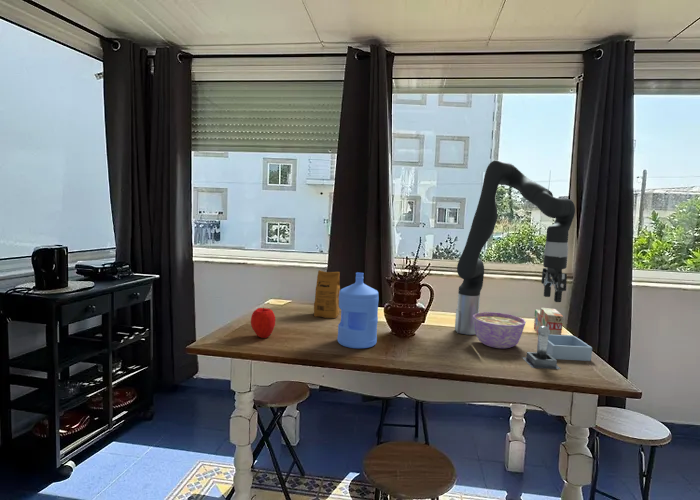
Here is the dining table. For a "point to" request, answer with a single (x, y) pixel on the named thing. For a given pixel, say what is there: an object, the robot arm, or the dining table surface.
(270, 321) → the apple
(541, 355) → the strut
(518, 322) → the bowl of food
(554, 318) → the stack of blocks
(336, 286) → the coffee package
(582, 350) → the bin
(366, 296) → the water jug
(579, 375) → the dining table surface
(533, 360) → the socket block
